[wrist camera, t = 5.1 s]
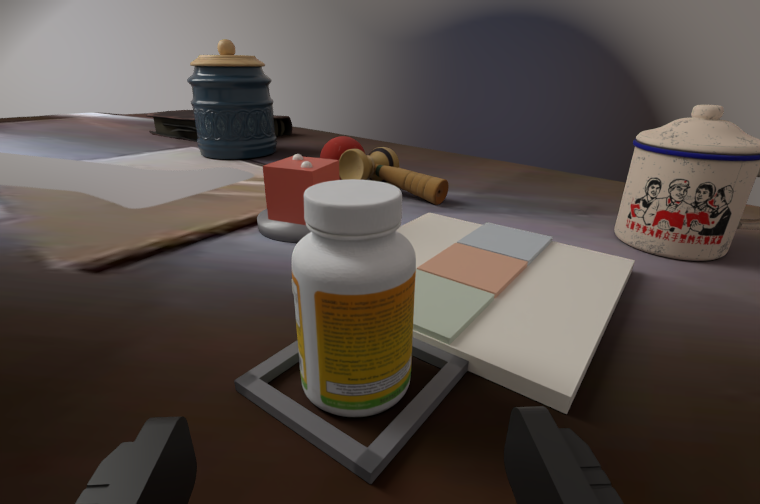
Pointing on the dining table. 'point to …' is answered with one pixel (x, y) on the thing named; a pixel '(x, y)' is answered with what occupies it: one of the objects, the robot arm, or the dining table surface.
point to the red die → (291, 194)
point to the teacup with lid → (689, 187)
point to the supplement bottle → (354, 297)
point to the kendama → (382, 169)
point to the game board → (475, 328)
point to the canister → (232, 105)
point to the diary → (185, 127)
